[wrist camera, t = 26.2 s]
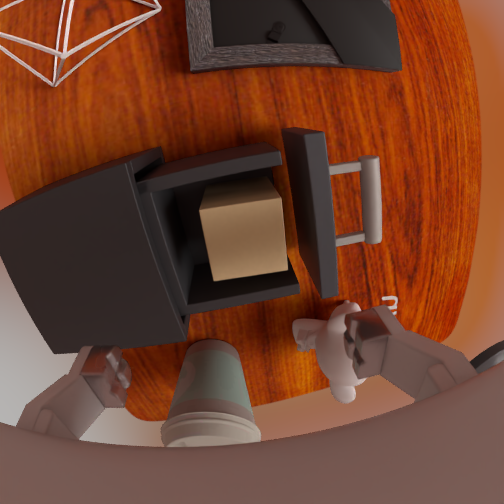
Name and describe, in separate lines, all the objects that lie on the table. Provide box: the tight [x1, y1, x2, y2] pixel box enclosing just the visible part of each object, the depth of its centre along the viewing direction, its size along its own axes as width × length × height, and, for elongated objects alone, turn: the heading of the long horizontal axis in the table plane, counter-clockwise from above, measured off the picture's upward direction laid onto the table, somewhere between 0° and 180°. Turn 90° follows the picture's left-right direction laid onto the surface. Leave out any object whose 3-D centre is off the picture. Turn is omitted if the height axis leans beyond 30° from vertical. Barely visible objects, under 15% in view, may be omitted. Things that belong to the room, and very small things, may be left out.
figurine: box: [292, 296, 398, 403], centre depth 26 cm, size 12×8×10 cm
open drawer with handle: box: [136, 127, 382, 316], centre depth 20 cm, size 15×10×7 cm
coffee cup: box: [161, 339, 261, 447], centre depth 25 cm, size 9×8×12 cm
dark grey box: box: [0, 146, 190, 354], centre depth 20 cm, size 12×12×9 cm
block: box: [199, 176, 288, 281], centre depth 19 cm, size 4×4×6 cm
